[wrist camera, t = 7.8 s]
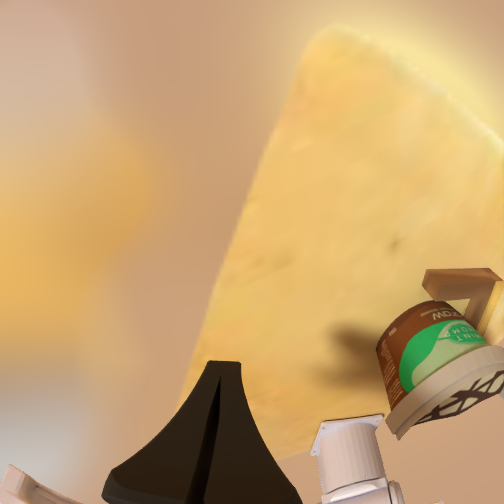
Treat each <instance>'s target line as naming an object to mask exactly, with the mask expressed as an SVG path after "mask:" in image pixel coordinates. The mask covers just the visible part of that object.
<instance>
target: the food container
mask: <svg viewBox="0 0 504 504" xmlns="http://www.w3.org/2000/svg"><path fill="white" fill-rule="evenodd" d="M376 352H377V356H378V360H379V363H380V367H381V371H382V375H383V379H384V383H385V387H386V391H387V395H388V399H389V404H390V408H391V413H390V414H389V415H388V417H387V419H386V420H385V421H386V424H387V425H388V427H389V429H390V430H391V432H392V434H396V436H397V439H398V440H400V439H401V437H402V436H403V435H404V434H405V433H406V432H407V431H408V429H409V428H410V427H412V426H414V425H417V424H420V423H424V422H427V421H431V420H437V419H442V418H448V417H451V416H456V415H459V414H460V413H462V412H464V411H466V410H468V409H469V408H471V407H472V406H473V405H475V404H477V403H479V402H481V401H483V400H485V399H487V398H489V397H492V396H494V395H496V394H498V393H499V395H500V396H501V397H502V399H503V400H504V348H502V347H501V346H496V345H494V346H490V345H489V344H488V343H487V341H486V340H485V339H484V338H483V337H482V336H481V335H480V334H479V333H478V332H477V331H476V330H475V329H474V328H473V327H472V326H471V325H470V324H469V323H468V322H467V321H466V320H465V319H464V318H463V317H462V316H461V315H460V314H459V313H458V312H457V311H456V310H455V309H454V308H453V307H452V306H450V305H449V304H448V303H446V302H445V301H437V302H435V301H434V300H431V301H426V302H423V303H420V304H418V305H416V306H414V307H412V308H410V309H408V310H407V311H405V312H404V313H402V314H401V315H400V316H399V317H398V318H396V319H395V320H394V321H393V322H392V323H391V324H390V326H389V327H388V328H387V329H386V330H385V332H384V333H383V335H382V336H381V338H380V340H379V342H378V345H377V348H376Z"/></svg>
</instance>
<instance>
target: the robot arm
mask: <svg viewBox="0 0 504 504" xmlns="http://www.w3.org/2000/svg"><path fill="white" fill-rule="evenodd" d="M382 419H383V415H381V414H380V415H374V416H367V417H360V418H353V419H345V420H335V421H325V422H322V423H321V425H320V428H319V431H318V433H317V436H316V439H315V441H314V444H313V447H312V449H311V452H310V455H311V456H316V455H317V457H318V465H319V474H320V483H321V489H322V491H323V493H324V494H325V495H323V496H321V497H322V502H319V503H318V504H404V499H403V495H402V491H401V488H400V485H399V483H398V482H395V481H394V480H392V481H390V482H388V480H387V479H386V474H385V470H384V466H383V462H382V458H381V455H380V451H379V447H378V443H377V440H376V436H375V430H376V429H377V427H378V425H379V424H380V422H381V420H382ZM101 496H102V498H103V499H104V500H105V501H106V502H107V503H109V504H303V503H302V500H301V498H300V496H299V495H298V493H297V490H296V489H295V487H294V486H293V485H292V484H291V483H290V482H289V480H288V479H287V477H286V476H285V475H284V473H283V472H282V470H281V469H280V468H279V466H278V465H277V463H276V461H275V460H274V458H273V457H272V455H271V453H270V452H269V450H268V448H267V447H266V445H265V443H264V441H263V439H262V437H261V435H260V433H259V431H258V429H257V426H256V424H255V422H254V419H253V417H252V414H251V412H250V409H249V406H248V403H247V399H246V396H245V393H244V388H243V384H242V378H241V363H239V362H234V361H211V360H210V361H208V362H207V364H206V367H205V369H204V371H203V373H202V375H201V377H200V378H199V380H198V382H197V384H196V385H195V387H194V389H193V390H192V392H191V393H190V395H189V397H188V398H187V400H186V401H185V402H184V404H183V405H182V406H181V408H180V409H179V411H178V412H177V413H176V414H175V416H174V417H173V418H172V419H171V421H170V422H169V423H168V424H167V425H166V426H165V428H163V430H161V432H159V434H158V435H157V436H156V437H155V438H153V439H152V440H151V441H150V442H149V443H148V444H147V445H146V446H145V447H143V448H142V449H141V450H140V451H138V452H137V453H136V454H135V455H133V456H132V457H131V458H129V459H128V460H126V461H125V462H123V463H122V464H120V465H119V466H117V467H115V468H114V469H112V470H111V472H110V474H109V476H108V478H107V480H106V482H105V485H104V488H103V492H102V495H101ZM0 504H81V503H79V502H77V501H74V500H72V499H70V498H68V497H65V496H63V495H61V494H59V493H57V492H55V491H53V490H51V489H49V488H47V487H45V486H43V485H41V484H40V483H38V482H36V481H35V480H34V479H33V478H32V477H30V476H29V475H27V474H26V473H24V472H23V471H21V470H19V469H18V468H16V467H14V466H13V465H9V466H8V469H7V471H6V473H5V475H4V478H3V480H2V482H1V485H0ZM432 504H445V503H444V500H440V501H437V502H435V503H432Z"/></svg>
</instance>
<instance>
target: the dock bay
mask: <svg viewBox="0 0 504 504" xmlns="http://www.w3.org/2000/svg"><path fill="white" fill-rule="evenodd" d="M422 286H423V287H424V289H425V290H426V291H427V292H428V293H429V295H430V296H431V297H432V298H433V300H434V301H435V302H437V301H449V300H459V299H469V298H471V299H470V302H469V305H468V307H467V310H466V312H465V315H464V317H463V318H464V319H465V320H466V321H467V322H468V323H469V324H470V325H471V326H472V327H473V328H474V329H475V330H476V331H477V332H478V333H479V334H480V335H481V336H483V334H484V332H485V330H486V328H487V326H488V323H489V321H490V319H491V317H492V314H493V312H494V310H495V308H496V305H497V303H498V300H499V298H500V295H501V293H502V290H503V287H504V281H503V280H502V279H501V278H500V277H499V276H498V275H496V274H495V273H494V272H493V271H492V270H491V269H489V268H472V269H429V270H426V273H425V276H424V280H423V283H422Z"/></svg>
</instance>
